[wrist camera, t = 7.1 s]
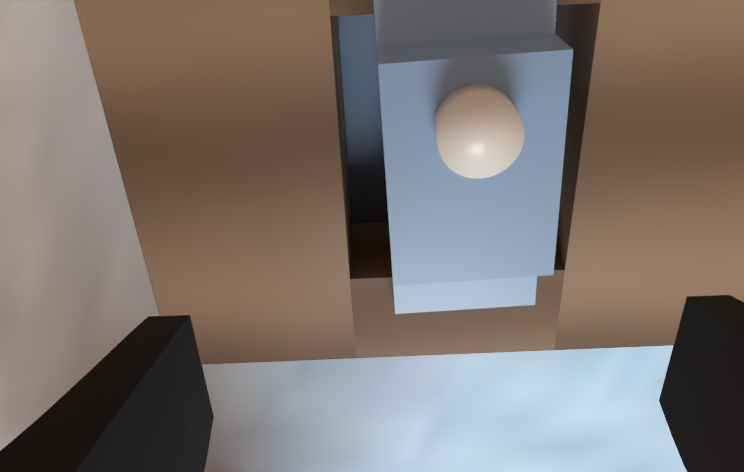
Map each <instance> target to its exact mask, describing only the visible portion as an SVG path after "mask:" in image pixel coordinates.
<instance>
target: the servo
mask: <svg viewBox="0 0 744 472" xmlns="http://www.w3.org/2000/svg"><path fill="white" fill-rule="evenodd" d="M373 3H374V17H375V32H376V46H377V61H378V75H379V90H380V104H381V119H382V133H383V147H384V162H385V176H386V190H387V205H388V219H389V233H390V248H391V262H392V276H393V290H394V304H395V314H404V313H419V312H435V311H450V310H465V309H480V308H496V307H511V306H526V305H535V299H536V286H537V276H547V275H554V263H555V252H556V241H557V229H558V218H559V206H560V195H561V184H562V172H563V161H564V150H565V138H566V127H567V115H568V104H569V93H570V81H571V70H572V58H573V49H572V48H571V47H570V46H569V45H568V44H566V43H565V42H564V41H563V40H562V39H561V38H559V37H558V36H557V35H556V34H555V22H556V8H557V0H373Z"/></svg>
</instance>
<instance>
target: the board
mask: <svg viewBox="0 0 744 472" xmlns="http://www.w3.org/2000/svg"><path fill="white" fill-rule="evenodd" d="M74 3H75V6H76V10H77V14H78V17H79V21H80V25H81V28H82V32H83V36H84V39H85V43H86V47H87V50H88V54H89V58H90V61H91V65H92V69H93V72H94V76H95V80H96V83H97V87H98V91H99V95H100V98H101V102H102V106H103V109H104V113H105V117H106V120H107V124H108V128H109V131H110V135H111V139H112V142H113V146H114V150H115V153H116V157H117V161H118V164H119V168H120V172H121V175H122V179H123V183H124V186H125V190H126V194H127V197H128V201H129V205H130V208H131V212H132V216H133V219H134V223H135V227H136V230H137V234H138V238H139V241H140V245H141V249H142V252H143V256H144V260H145V263H146V267H147V271H148V274H149V278H150V282H151V285H152V289H153V293H154V297H155V300H156V304H157V308H158V311H159V315H160V316H177V315H190V317H191V322H192V326H193V330H194V335H195V339H196V343H197V348H198V352H199V356H200V361H201V364H222V363H246V362H271V361H296V360H320V359H345V358H369V357H394V356H419V355H443V354H468V353H492V352H517V351H541V350H566V349H591V348H615V347H640V346H664V345H674V343H675V339H676V335H677V331H678V328H679V324H680V320H681V316H682V313H683V309H684V305H685V301H686V297H687V296H713V295H731V296H733V297H735V298H736V299H738V300H740V301H742V302H744V0H557V5H559V7H558V17H557V27H556V35H557V36H558V37H559V38H561V39H562V40H563V41H564V42H565V43H566V44H568V45H569V46H570V47H571V48H572V49H573V58H572V70H571V81H570V93H569V104H568V115H567V127H566V138H565V150H564V161H563V172H562V184H561V195H560V206H559V218H558V229H557V241H556V252H555V263H554V275H547V276H537V286H536V299H535V305H526V306H511V307H496V308H480V309H465V310H450V311H435V312H419V313H404V314H395V304H394V290H393V276H392V262H391V248H390V233H389V222H370V223H352V216H351V202H350V188H349V173H348V159H347V145H346V130H345V116H344V102H343V88H342V73H341V59H340V45H339V30H338V16H343V15H364V14H374V3H373V0H74Z"/></svg>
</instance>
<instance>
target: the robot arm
mask: <svg viewBox="0 0 744 472" xmlns="http://www.w3.org/2000/svg"><path fill="white" fill-rule="evenodd" d="M659 402H660V404H661V407H662V410H663V412H664V415H665V418H666V421H667V423H668V426H669V429H670V431H671V434H672V437H673V439H674V442H675V444H676V447H677V449H678V452H679V454H680V456H681V459H682V461H683V464H684V466H685V468H686V470H687V472H744V302H742V301H740V300H738V299H736V298H735V297H733V296H731V295H713V296H687V297H686V301H685V305H684V309H683V313H682V316H681V320H680V324H679V328H678V331H677V335H676V339H675V343H674V347H673V350H672V354H671V358H670V362H669V365H668V369H667V373H666V377H665V381H664V384H663V388H662V392H661V396H660V399H659ZM212 422H213V413H212V408H211V404H210V400H209V395H208V391H207V387H206V382H205V378H204V374H203V369H202V365H201V361H200V356H199V352H198V348H197V343H196V339H195V335H194V330H193V326H192V322H191V317H190V315H177V316H151V317H148V318H146V319H145V320H144V321H143V322H142V323H141V324H140V325H138V326H137V327H136V328H135V329H134V330H133V331H132V332H131V333H130V334H129V335H128V336H127V337H125V338H124V339H123V340H122V341H121V342H120V343H119V344H118V345H117V346H116V347H115V348H114V349H113V350H112V351H111V352H110V353H109V354H108V355H106V356H105V357H104V358H103V359H102V360H101V361H100V362H99V363H98V364H97V365H96V366H95V367H94V368H93V369H92V370H91V371H90V372H89V373H88V374H86V375H85V376H84V377H83V378H82V379H81V380H80V381H79V382H78V383H77V384H76V385H75V386H73V387H72V388H71V389H70V390H69V391H68V392H67V393H66V394H65V395H64V396H63V397H61V398H60V399H59V400H58V401H57V402H56V403H55V404H54V405H53V406H52V407H51V408H50V409H48V410H47V411H46V412H45V413H44V414H43V415H42V416H41V417H40V418H39V419H37V420H36V421H35V422H34V423H33V424H32V425H30V426H29V427H28V428H27V429H26V430H25V431H23V432H22V433H21V434H20V435H19V436H18V437H16V438H15V439H14V440H13V441H12V442H11V443H9V444H8V445H7V446H6V447H5V448H3V449H2V450H1V451H0V472H204V469H205V463H206V458H207V453H208V447H209V441H210V435H211V428H212Z"/></svg>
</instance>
